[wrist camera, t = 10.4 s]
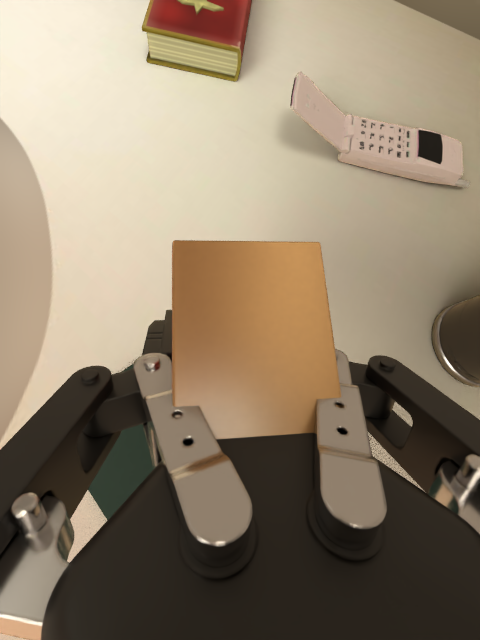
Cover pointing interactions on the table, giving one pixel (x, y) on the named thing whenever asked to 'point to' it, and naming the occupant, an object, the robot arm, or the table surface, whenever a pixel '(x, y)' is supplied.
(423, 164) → the mobile phone
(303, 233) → the table surface
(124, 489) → the mat
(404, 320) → the table surface
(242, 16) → the hardcover book
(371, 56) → the table surface
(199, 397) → the box
